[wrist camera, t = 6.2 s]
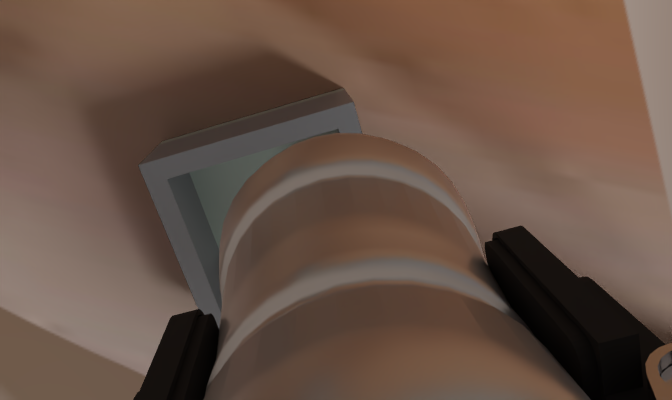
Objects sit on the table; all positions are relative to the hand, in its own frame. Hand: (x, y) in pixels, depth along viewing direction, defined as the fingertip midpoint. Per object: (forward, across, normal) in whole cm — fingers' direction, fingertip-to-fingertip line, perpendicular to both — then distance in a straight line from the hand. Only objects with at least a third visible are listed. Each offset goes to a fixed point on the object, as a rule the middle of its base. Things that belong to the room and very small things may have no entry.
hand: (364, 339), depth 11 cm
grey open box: (+27, +4, +6) cm, 28 cm away
